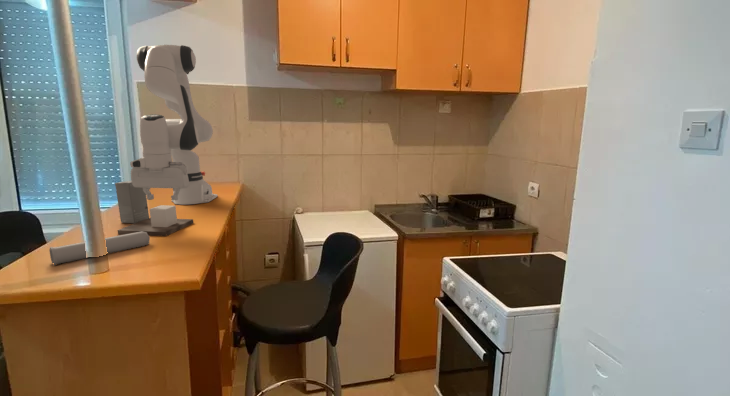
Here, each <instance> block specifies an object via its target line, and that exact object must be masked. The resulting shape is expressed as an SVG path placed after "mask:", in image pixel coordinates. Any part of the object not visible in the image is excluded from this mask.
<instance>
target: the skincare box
mask: <svg viewBox="0 0 730 396" xmlns="http://www.w3.org/2000/svg"><path fill="white" fill-rule="evenodd" d="M114 186H115V191H116V199H117V205H118V212H119V218H120V223H123V224H124V223H125V224H135V223H138V222H140V221H143V220H146V219H148V218H150V212H149V206H148V199H147V195H146V194H145V193H144V191H143V188H140V187H134V186H133V185H132V182H131V180H124V181H119V182H115V183H114Z"/></svg>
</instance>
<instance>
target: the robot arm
mask: <svg viewBox="0 0 730 396" xmlns="http://www.w3.org/2000/svg"><path fill="white" fill-rule="evenodd" d="M136 62H137V64H138V67H139V68H140V69H141V70H142V71H143V72H144V74H143V75H144V76H143V77H144V83H145V87H146V88H147V89H148V91H149V92H151V94H153V95H154V96H156V97H158V98H160V99H163V100H164V104H165V106H166V107H167V109H169V110H170V111H172V112H175V113H176V114H177V115H178V116H179V117H180V118H166V116H164V115H162V114H156V113H155V114H152V113H151V114H145V115H143V116H140V119H139V120H140V122H139V134H140V143H141V145H142V149H143V150H142V157H140V158H138V159H135V160H132V161H130V167H131V170H130V181H131V182H132V185H133V186H134V187H140V188H143V191H144V193H145V194H146V198H147V201H152V200H154V198H155V196H154V193H153V194H152V192H151V191H150V190H151V189H172V193H173V195H171V196H170V198H171V203H172V202H173V204H175V205H183V206H184V205H195V204H203V203H210V202H211V201H213V200H214V199H216V198H217V197H218V194H216V193H213V188H212V185H211V184H209V183H208V182H207V181H206V180H205V179H204V177H203V176H206V172H205V171H201V166H200V158H199V156H198V153H196V152H194V151H193V150H194V149H195V148H196V147H198V145H199V144H200V143H204V142H208V141H210V140H211V139H212V138H213V133H214V131H213V130H214V129H213V126H212V124H211V123H210V122H209V120H207V119H205V118H204V117H202V116H201V114H200V113H199V112H198V111H197V110H196V107H195V105H194V102H193V98H192V93H191V87H190V81H189V78H188V75H189V74H190V73H191V72H193V71H194V70H195V68H196V63H197V60H196V55H195V53H194V51H193V49H192V47H190V46H186V45H182V44H181V45H177V44H158V45H144V46H140V47H139V48H138V49H137V50H136Z"/></svg>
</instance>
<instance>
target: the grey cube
mask: <svg viewBox="0 0 730 396" xmlns="http://www.w3.org/2000/svg"><path fill="white" fill-rule="evenodd" d="M176 208H177V207H176V205H167V204H166V205H165V204H164V205H163V204H162V205H161V204H160V205H158V206H155V207H151V208H149V218H151V225H152V227H169V226H171V225H173V224H176V223H177V219H178V218H177V209H176Z"/></svg>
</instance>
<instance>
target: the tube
mask: <svg viewBox="0 0 730 396" xmlns="http://www.w3.org/2000/svg"><path fill="white" fill-rule="evenodd" d="M104 238H105V240H106V247H107V252H108V253H109V254H113V252H114V253H118V251H119V252H122V250H123V251H127V249H128V250H131V248H133V249H136V247H137V248H141V246H142V247H146V246H148V245H149V244H150V239H151V237H150V236H149V235H148V234H147V232H143V231H141V232H136V233H130V234H125V235H122V234H118V235H115V236H110V237H109V236H108V237H104ZM84 242H85V241H81V242H77V243H71V244H67V245H60V246H54V247H53V246H49V257H50V260H51V264H52V263H54V265H55V266H57V265H56V264H58V265H62V264H66V262H67V263H72V262H75V261H76V260H77V261H80V260H81V261H82V260H85V259H87V258H86V251H85V243H84ZM145 245H146V246H145ZM71 261H72V262H71ZM61 263H62V264H61ZM54 265H53V266H54Z"/></svg>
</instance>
